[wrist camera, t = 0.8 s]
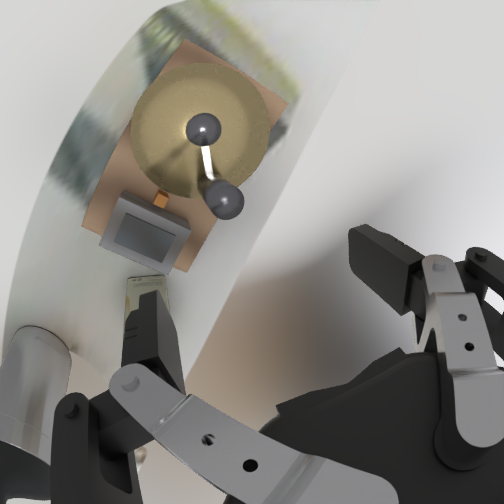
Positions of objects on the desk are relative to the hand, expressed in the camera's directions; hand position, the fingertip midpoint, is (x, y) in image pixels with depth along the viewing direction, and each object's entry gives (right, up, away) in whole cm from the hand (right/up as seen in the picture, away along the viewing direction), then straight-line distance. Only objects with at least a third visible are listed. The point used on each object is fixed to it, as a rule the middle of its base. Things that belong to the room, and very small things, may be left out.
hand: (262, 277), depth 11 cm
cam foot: (-5, +12, +13) cm, 18 cm away
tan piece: (-7, +10, +15) cm, 19 cm away
